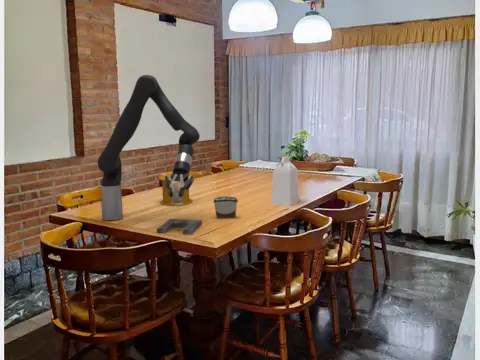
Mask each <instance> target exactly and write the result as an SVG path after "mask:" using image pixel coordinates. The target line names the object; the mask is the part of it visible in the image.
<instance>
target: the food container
mask: <svg viewBox="0 0 480 360" xmlns="http://www.w3.org/2000/svg"><path fill="white" fill-rule="evenodd" d="M237 203H239V199H238V198H237V197H236V196H230V195H229V196H217V197H214V199H213V202H212V204H214V209H215V217H216V220H217V219H219V220H220V219H221V220H222V219H224V220H225V219H236V218H237V217H236V214H237Z"/></svg>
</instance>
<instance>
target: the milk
mask: <svg viewBox="0 0 480 360" xmlns="http://www.w3.org/2000/svg"><path fill="white" fill-rule="evenodd" d="M271 184H272V186H271V202H270V203H271V205H276V204H279V205H278V206H285V205H287V207H291V206H294V205H295V204H297V203H299V202H300V195H299V193H300V192H299V170H298V168H297V167H296V166H295V165H294V164H293V163H292V162H291V160H290V157H289V156H287V155H286V156H283V157H281V163H279V165H278V166H276V167H275V169H274V170H273V171H272V183H271Z"/></svg>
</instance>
